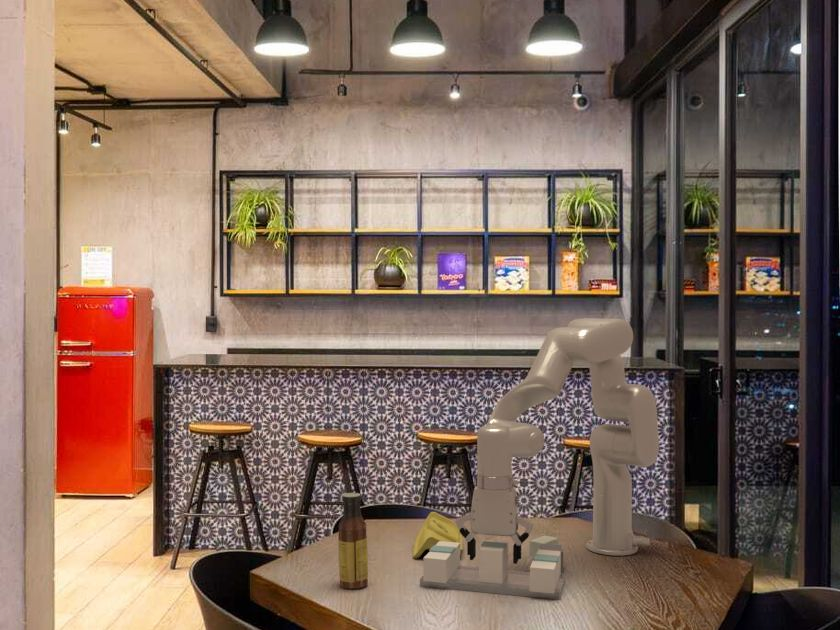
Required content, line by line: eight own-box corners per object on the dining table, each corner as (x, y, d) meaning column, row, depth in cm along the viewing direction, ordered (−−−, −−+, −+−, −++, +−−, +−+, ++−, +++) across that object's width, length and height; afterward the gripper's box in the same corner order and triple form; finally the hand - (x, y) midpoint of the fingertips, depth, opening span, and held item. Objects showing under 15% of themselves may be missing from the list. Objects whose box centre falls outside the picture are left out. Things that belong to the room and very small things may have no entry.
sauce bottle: (366, 580, 184) (367, 490, 185) (369, 589, 178) (370, 496, 178) (336, 581, 183) (337, 491, 183) (338, 591, 177) (339, 497, 177)
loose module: (508, 572, 186) (508, 540, 186) (502, 583, 178) (502, 549, 178) (485, 570, 187) (486, 538, 187) (478, 581, 180) (479, 547, 180)
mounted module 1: (460, 564, 192) (460, 541, 192) (446, 583, 178) (446, 558, 178) (438, 562, 193) (438, 539, 193) (423, 581, 180) (423, 556, 180)
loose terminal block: (558, 554, 207) (558, 538, 207) (543, 560, 202) (543, 543, 202) (544, 551, 210) (544, 535, 210) (529, 557, 204) (529, 540, 204)
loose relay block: (560, 566, 197) (561, 544, 197) (562, 573, 191) (563, 551, 191) (539, 565, 198) (539, 544, 198) (541, 572, 192) (541, 551, 192)
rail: (564, 582, 185) (564, 575, 185) (559, 599, 173) (559, 592, 173) (433, 570, 193) (433, 563, 193) (420, 586, 181) (420, 579, 181)
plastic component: (462, 551, 200) (425, 533, 200) (449, 578, 200) (411, 560, 200) (461, 525, 220) (427, 508, 220) (449, 549, 220) (415, 532, 220)
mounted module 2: (560, 573, 186) (561, 549, 186) (554, 593, 172) (554, 567, 172) (538, 571, 187) (538, 547, 187) (529, 591, 174) (529, 565, 174)
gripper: (535, 481, 184) (535, 558, 184) (459, 477, 189) (459, 552, 189) (531, 488, 177) (531, 568, 177) (452, 483, 182) (451, 562, 182)
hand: (494, 560), depth 183 cm, fingers open, 9 cm apart
